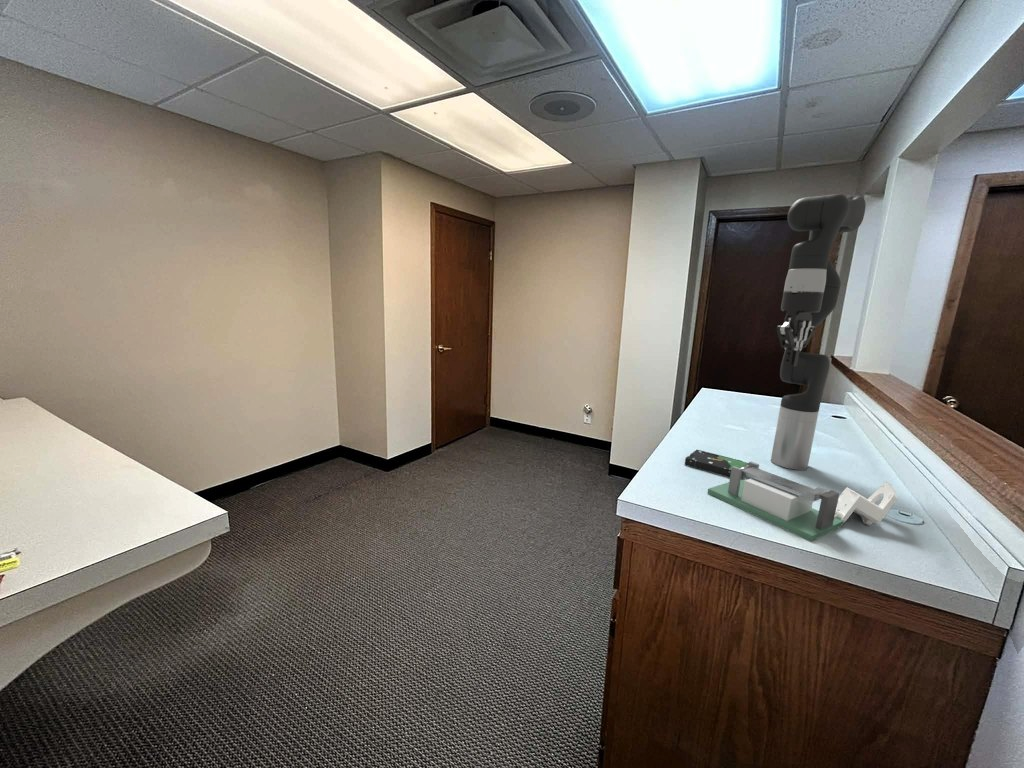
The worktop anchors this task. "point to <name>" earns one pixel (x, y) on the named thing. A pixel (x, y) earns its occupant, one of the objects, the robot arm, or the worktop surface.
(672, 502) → the worktop surface
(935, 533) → the worktop surface
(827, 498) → the post
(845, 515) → the mounting bracket
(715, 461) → the disk drive
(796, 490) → the strap
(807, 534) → the board
